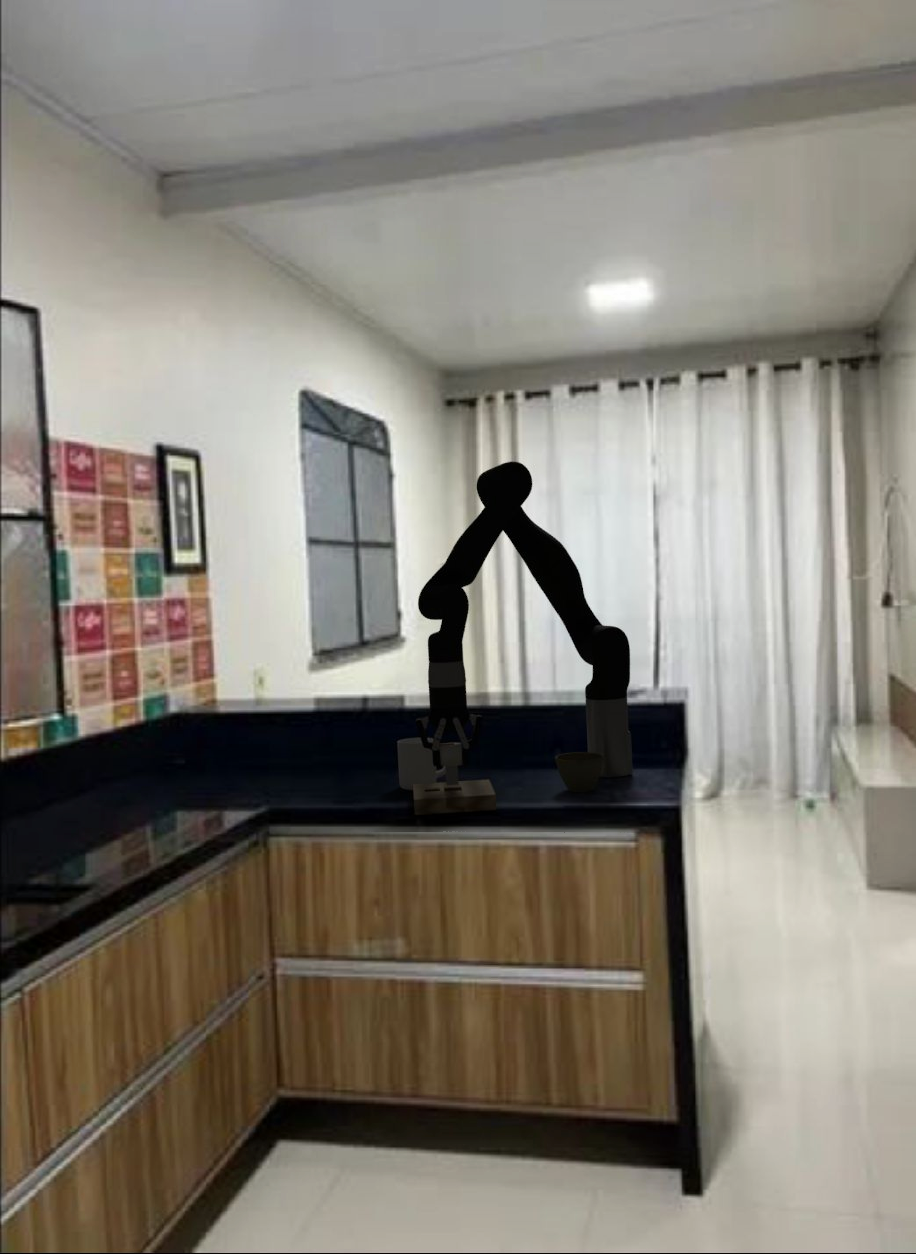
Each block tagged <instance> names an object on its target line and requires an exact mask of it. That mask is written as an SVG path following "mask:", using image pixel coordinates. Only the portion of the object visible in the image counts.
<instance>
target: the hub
mask: <svg viewBox="0 0 916 1254" xmlns="http://www.w3.org/2000/svg"><path fill="white" fill-rule="evenodd" d="M458 782H459V785H447V784H446V781H443V782H437V783H424V784H413V790H412V792H413V808H414V815H415V816H419V815H423V816H424V815H433V814H434V815H436V814H437V815H438V814H450V813H467V812H481V811H482V812H483V811H484V812H486V811H497V795H496V794H497V793H496V792H495V790H494V788H493V785H492V783H491V781H490V779H478V780H477V779H476V780H473V779H472V780H460V781H459V780H458Z"/></svg>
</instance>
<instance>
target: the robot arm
mask: <svg viewBox="0 0 916 1254" xmlns="http://www.w3.org/2000/svg"><path fill="white" fill-rule="evenodd" d="M532 477H533V476H532V475H531V472H530V471H529V469H528V468H527V466H526V465H524V464H523V463H521V462H519V461H507V462H503V463H501V464H498V465H496V466H494V467H491V468H489V469H487V470H485V471H484V472H483V471H482V473H480V475H479V476H478V477H477V479H476V491H477V496H478V497H479V500H480V502H481V504H482V505H483V509H482V510H481V512H480V513H479V514H478V515H477V517H476V518H475V519H474V520H473V521H472V522H471V524H469V526H468V527H466V529H465V530H464V531H463V533H462V534H461V535H460V537H458V539H457V540H456V542H455V543H454V546H453V547H452V549H451V551H450V553H449V554H448V556H447V559H446V560H445V562H444V564H443V565H442V566H441V567H440V568H439V569H438V570H437V571H436V572H435V573H434V574H433V575H431V577H430V579H428V581H427V582H426V583H425V584H424V585H423V587H422V589H421V591H420V592H419V596H418V600H417V601H418V602H417V606H418V607H417V608H418V611H419V612H420V614H421V616H423V617H424V618H426V619H427V620H433V621H441V622H440V623H441V624H440V626H439V627H440V628H439V630H438V631H435V632H432V633H431V634H430V635H429V636H428V638H427V651H428V669H427V670H428V672H427V677H428V678H427V679H428V680H427V683H428V694H429V695H428V696H429V697H428V699H429V712H428V715H427V716H425V717H422V718H420V717H419V718H416V719H415V725H416V728H417V732H418V733H419V738H421V741H422V744H423V747H424V748H428V749H431V750H432V755H433V765H434V766H436V770H441V766H440V754H439V749H438V747H439V744H441V743H440V742H441V741H442V736H444V735H445V736H446V735H449V734H453V735H458V737H459V739H460V743H462V748H463V749H462V752H463V764H462V768H467V766H468V765H470V763H471V757H470V756H471V755H470V754H471V753H470V749H471V748H473V747H474V746H476V745H478V743H479V739H480V734H481V731H482V729H481V728H482V725H483V721H484V720H483V719H484V718H483V716H482V715H480V714H477V715H476V714H472V713H470V712H469V711H468V699H467V697H468V696H467V678H466V669H465V664H464V645H463V644H464V643H463V641H464V640H463V639H464V634H465V631H466V625H467V622H468V621H467V620H468V615H469V606H470V602H469V598H468V595H467V594H468V593H467V592H466V591H465V589H464V587H467V586H470V585H471V584H473V582H474V581H475V580H476V578H477V576H478V574H479V572H480V571H481V568H482V567H483V565H484V563H485V561H486V559H487V557H488V556H489V553H490V551H491V550H492V548H493V547H494V545H495V544H496V542H497V540H498V539H499V537H500V536H501V534H502V532H504V533H505V535H506V536H507V538H508V539H509V541H510V542H511V544H512V546H513V547H514V548H515V550H516V552H517V553H518V554H519V556H520V557H521V559H522V561H523V562H524V563H525V565H526V568H528V571H529V573H530V574H531V576H532V577H533V579H534V580H535V582H536V583H537V585H538V587H539V588H540V590H542V593H543V595H545V597H546V599H547V600H548V601H549V603H550V605H551V607H552V608H553V609H554V611H555V613H556V614H557V616H558V617H559V618H560V620H561V622H562V624H563V625H564V627H565V630H566V631H567V634H568V635H569V637H570V640H571V641H572V643H573V645H574V648H575V650H576V652H577V653H578V655H579V657H580V659H582V660H583V661H584V662H585V663H587V664H588V665H590V666H592V677H591V679H590V680H591V681H589V683H587V684H586V686H585V689H584V690H585V691H584V693H585V695H584V696H585V714H586V716H585V717H586V737H587V752H591V753H598V754H602V755H603V765H602V769H601V773H600V776H599V778H618V777H625V776H630V775H633V773H634V770H633V752H632V751H633V750H632V747H633V746H632V733H631V731H629V710H628V709H629V708H628V707H629V706H628V688H629V685H630V682H631V649H630V642H629V639H628V636H627V634H626V633H625V632H624V630H622V629H621V628H620V627H617V626H614V625H604V624H602V623H601V621H600V620H599V619H598V618H597V616H596V615H595V613H594V612H593V610H592V608H591V607H590V606H589V604H588V601H587V599H586V597H585V592H584V587H583V581H582V576H581V574H580V571H579V568H578V567H577V565H576V564H575V562H574V560H573V558H572V557H571V555H570V553H569V552H568V550H567V549H566V548H565V546H564V545H563V543H562V542H560V540H558V539H557V538H556V537H554V536H553V535H552V534H550V533H549V532H548V531H546V530H545V529H543V528H542V527H540V526H539V525H538V524H536V523H535V522H534V521H533V520H532V519H531V518H530V517H529V516H528V514H527V513H526V511H525V510H524V509H523V507H522V506H523V504H524V503H525V501H526V500H527V499H528V497H530V494H531V493H532V490H533V478H532ZM469 720H470V721H471V725H472V726H473V730H472V735H471V739H468V738H467V737H466V734H465V731H464V727H465V726H466V724H467V723H468V722H469ZM428 723H430V724H431V725H432V727H433V728H434V729H435V733H434V737H433V739H434V740H433V743H432V742H429V741H428V739H427V738H428V736H427V733H426V729H427V727H428Z"/></svg>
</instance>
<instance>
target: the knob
mask: <svg viewBox="0 0 916 1254" xmlns="http://www.w3.org/2000/svg"><path fill="white" fill-rule="evenodd" d="M462 749H463V745H462V742H444V743H439V754H440V767H444V766H445V768H446V774H445V782H446V784H447V785H459V782H458V781H459V767H458V766H463V752H462Z"/></svg>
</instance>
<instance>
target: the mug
mask: <svg viewBox="0 0 916 1254" xmlns="http://www.w3.org/2000/svg"><path fill="white" fill-rule="evenodd" d="M427 739H428V741H429V742H432V743H433V740H434V737H433V738H432V737H427ZM396 743H397V744H396V745H397V764H398V765H397V767H398V779H399V780H398V781H399V787H400V788H401V789H402V790H405V791H406V790H408V791H413V784H424V783H438V782H437V779H438V778H440V777H444V775H445V776H446V768H445V766H442V769H441V768H440V769H439V770H437V766H434V765H433V755H432V750H431V749H428V748H424V747H423V744H422V741H421V738H420V737H409V738H408V737H407V738H404V739H403V738H402V739H399V740H398V741H396ZM438 749H439V747H438Z"/></svg>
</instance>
